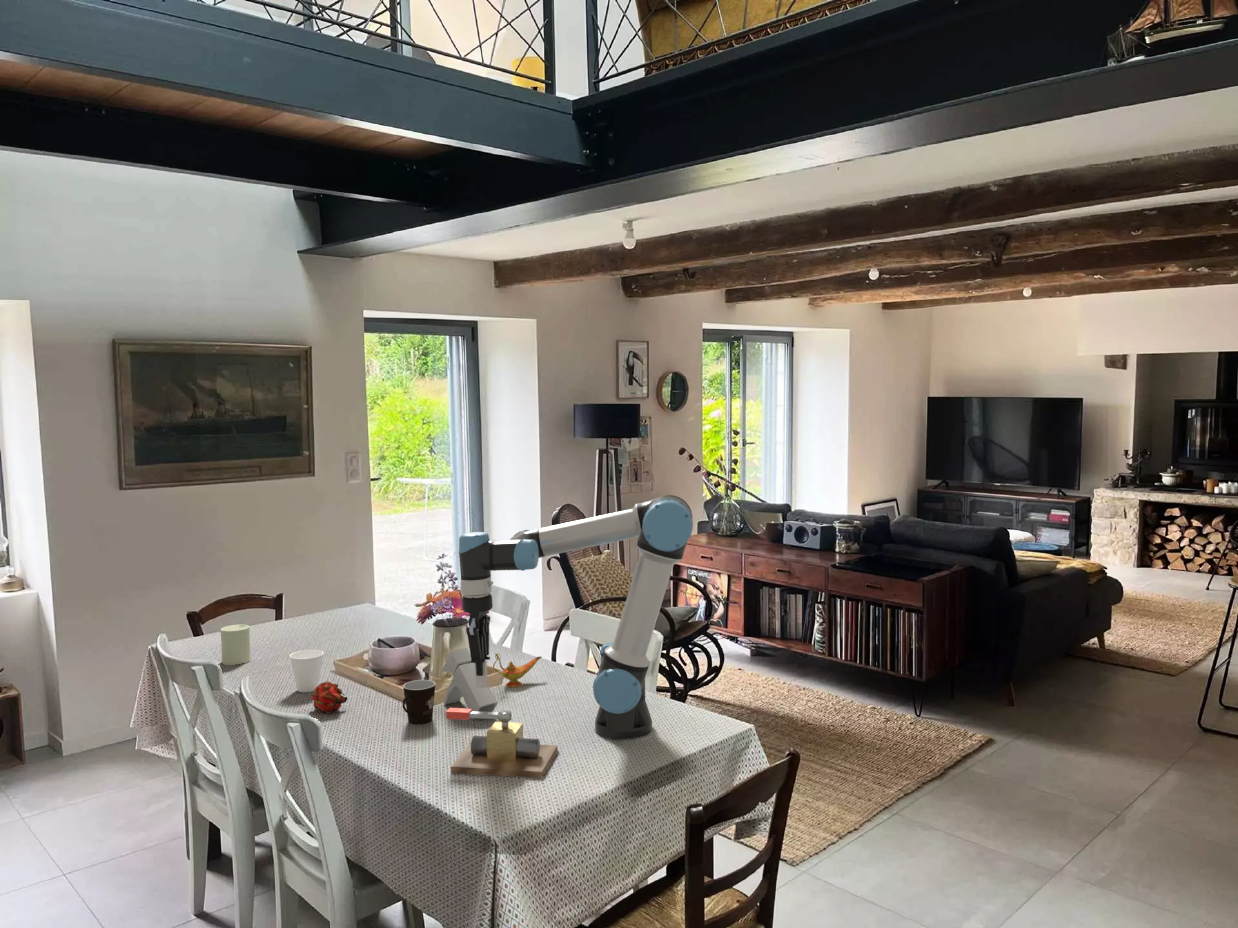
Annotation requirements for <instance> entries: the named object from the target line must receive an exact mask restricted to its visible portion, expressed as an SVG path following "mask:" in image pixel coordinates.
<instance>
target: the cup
mask: <svg viewBox="0 0 1238 928" xmlns="http://www.w3.org/2000/svg"><path fill="white" fill-rule="evenodd" d="M324 654H325V653H324V651H322V650H319V649H305V650H303V649H302V650H299V651H295V652H292V653H290V654H289V655H288V657H289V659H290V663H291V667H292V671H293V676H294V681H295V686H296V690H297V691H298V692H299V693H314V692H315V691H314V690H315V688H316V687H317V686H318V685H320V678H321V670H322V663H323V656H324Z"/></svg>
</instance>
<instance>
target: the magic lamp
mask: <svg viewBox="0 0 1238 928" xmlns="http://www.w3.org/2000/svg"><path fill="white" fill-rule="evenodd" d="M494 654H495V661H494V663H493V665H492V669H493V671H495V672H496V673H499V674H501V675H502V677H503V678H502V679H501V677H500V678H499V680H500V681H503V680H504V679H507V680H509V681H508V682H507V683H506V684H505V687H508V688H518V687H521V686H522V685H523V683H522V682H520V681H519V680H520V679H521V678H523V677H524V676H525V675H526V674H527V673H528V672H530V671H531V669H533V668H534V666H535V665H536V664H537V662H538V661H539V660H540V659H542V658H543V656H536V657H534V658H533V659H531V660H530V661H528V662H527V663H526V664H523V665H520V666H516V665H515V664H514V663H513V661H511V660H510V661H509V663H508V664H507V667H506V668H504V667H503V665H502V660H501V658H502V657H501V654H499V653H494ZM497 661H498V663H499V667H500V669H501V670H502V671H498V670H497V669H495V665H496V663H497Z"/></svg>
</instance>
